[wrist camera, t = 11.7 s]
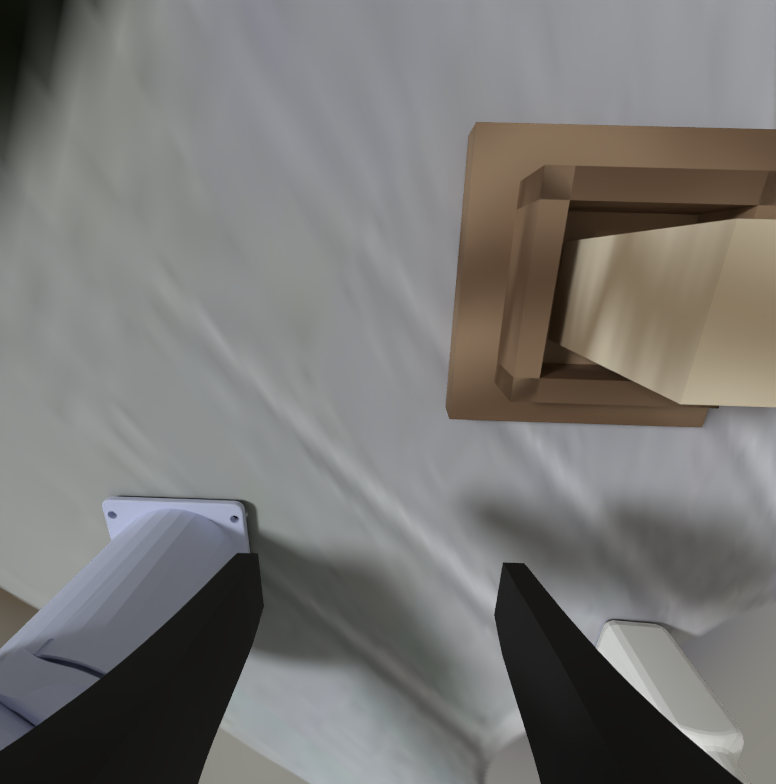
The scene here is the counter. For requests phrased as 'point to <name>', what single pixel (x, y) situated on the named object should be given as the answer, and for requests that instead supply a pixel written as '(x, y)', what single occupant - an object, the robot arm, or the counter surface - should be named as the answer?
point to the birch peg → (676, 309)
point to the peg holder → (568, 223)
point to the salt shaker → (673, 688)
